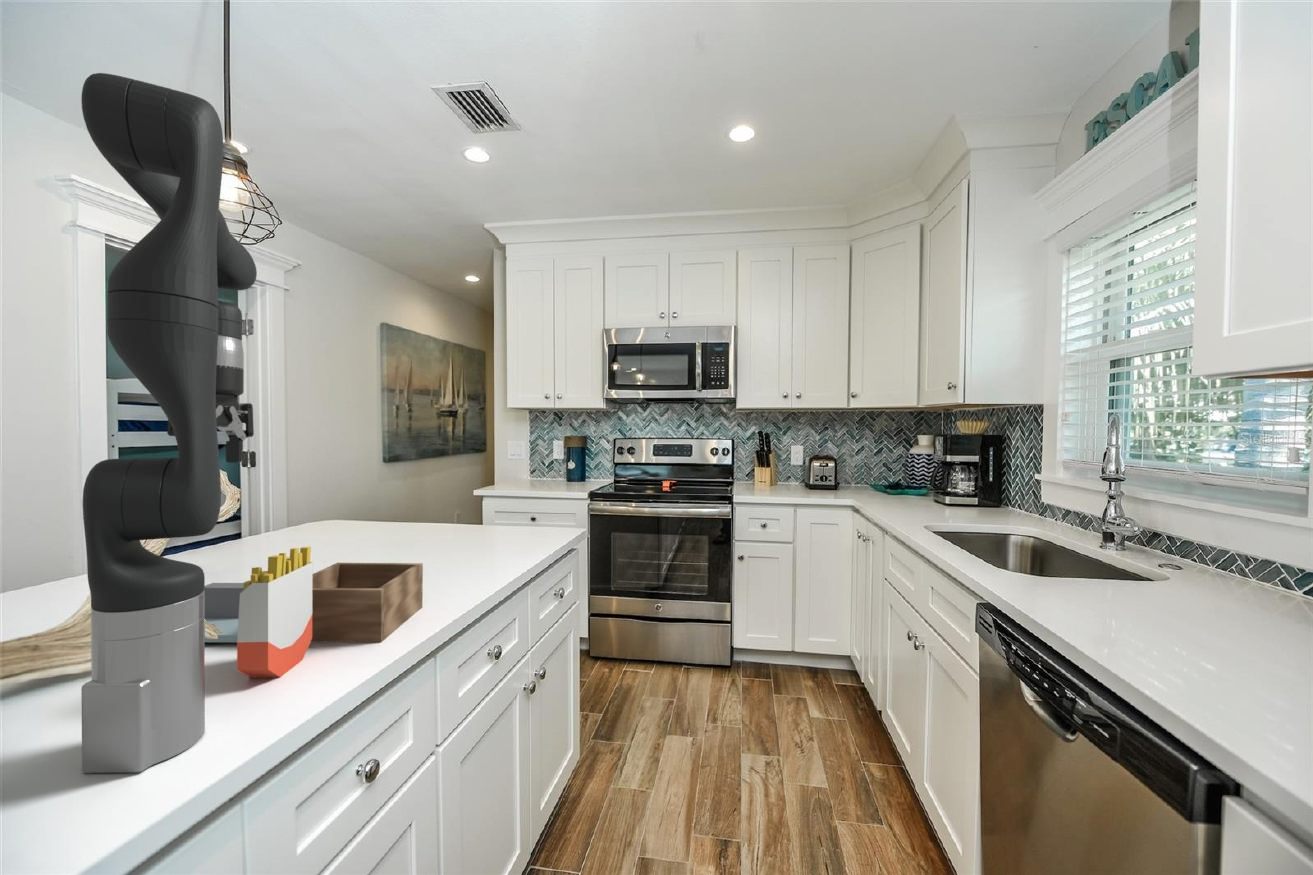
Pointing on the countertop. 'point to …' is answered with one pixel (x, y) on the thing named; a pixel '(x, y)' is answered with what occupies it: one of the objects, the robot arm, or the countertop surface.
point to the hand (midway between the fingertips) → (213, 463)
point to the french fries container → (276, 616)
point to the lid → (223, 609)
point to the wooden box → (364, 600)
